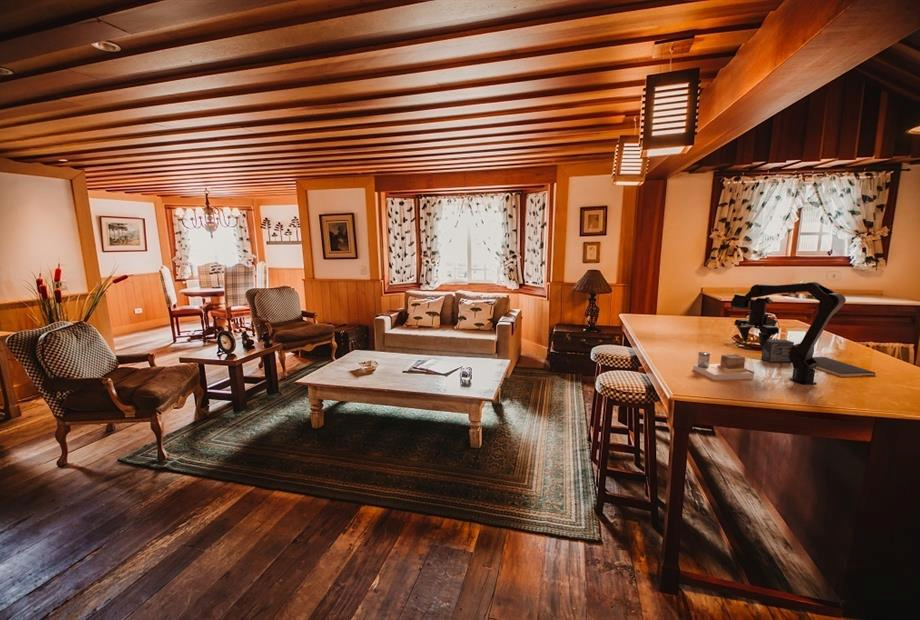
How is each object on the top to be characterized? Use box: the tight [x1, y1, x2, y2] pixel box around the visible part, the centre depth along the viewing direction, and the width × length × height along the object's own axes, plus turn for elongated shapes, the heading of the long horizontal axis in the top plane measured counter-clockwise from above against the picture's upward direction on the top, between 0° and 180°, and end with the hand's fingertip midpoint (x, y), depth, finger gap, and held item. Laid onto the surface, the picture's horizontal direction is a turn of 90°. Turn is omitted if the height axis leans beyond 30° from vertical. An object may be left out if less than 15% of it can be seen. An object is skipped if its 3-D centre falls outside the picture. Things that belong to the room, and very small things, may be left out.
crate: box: [717, 353, 748, 372], centre depth 173 cm, size 6×9×6 cm, turn 94°
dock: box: [692, 363, 755, 381], centre depth 175 cm, size 14×18×3 cm
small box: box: [761, 339, 795, 364], centre depth 191 cm, size 11×6×10 cm, turn 84°
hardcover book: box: [812, 356, 876, 378], centre depth 180 cm, size 16×23×2 cm
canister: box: [696, 351, 711, 368], centre depth 178 cm, size 5×5×6 cm
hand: (753, 344), depth 179 cm, fingers open, 9 cm apart
